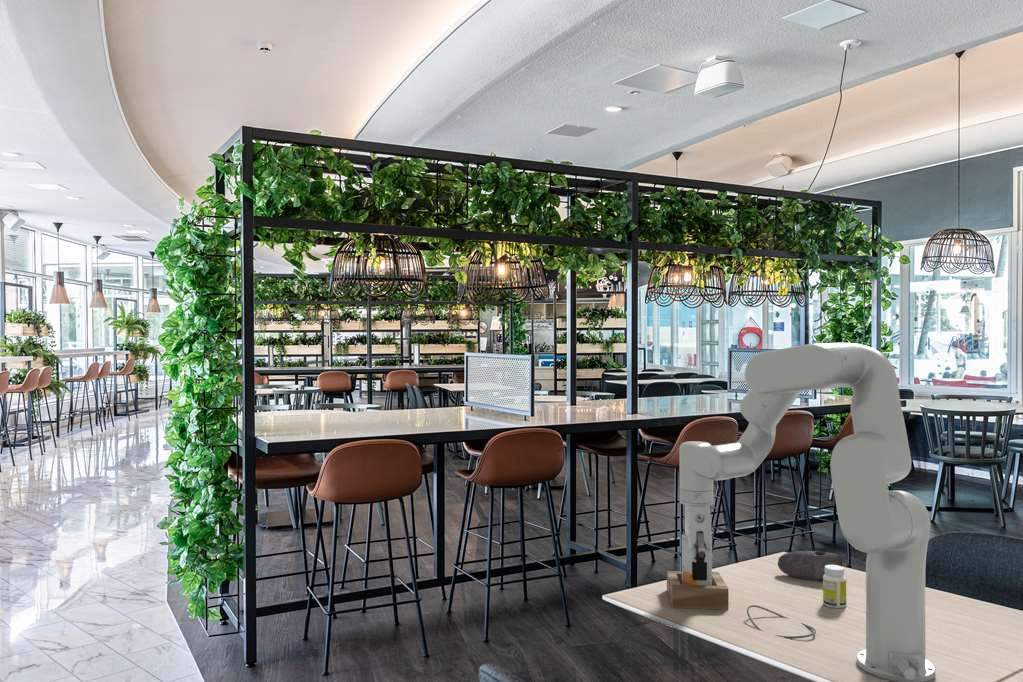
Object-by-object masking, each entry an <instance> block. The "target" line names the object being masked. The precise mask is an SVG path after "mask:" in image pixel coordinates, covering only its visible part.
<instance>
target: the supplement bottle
mask: <svg viewBox="0 0 1023 682" xmlns="http://www.w3.org/2000/svg"><path fill="white" fill-rule="evenodd" d="M825 573H826V574H824V575H823V580H822V603H823V604H824V605H825V606H826V607H829V608H833V609H844V608H846V607H847V578H846V576H845V568H844V567H843V566H838V565H826V566H825Z"/></svg>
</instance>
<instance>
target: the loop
mask: <svg viewBox="0 0 1023 682" xmlns="http://www.w3.org/2000/svg"><path fill="white" fill-rule="evenodd" d="M750 608H758V609H760V610H764V611H766V612H769V613H771V614H774V615H776V616H779V617H781V618H784V619H789V620H791V618H790V617H788V616H785V615H782V614H780V613H777V612H775V611H773V610H770V609H768V608H766V607H763V606H761V605H756V604H751V605H748V606H747V607H746V613H747V614H746V615H747V616H748V619H749V620H750V623H752V625H753V626H754V627H755V628H756V629H757V630H758V631H761V632H765V631H764V630H762V628H760V627H759V626H758V625H757V624H756V623H755V622H754V620H753V619H752V617H751V614H750V612H749V611H750ZM799 622H800V621H799ZM799 624H802V625H803V626H804V625H805V628H809V629H810V630H812V631H813V632H812V633H808V634H806V635H804V634H803V635H797V636H795V635H793V636H789V635H779V634H778V635H776V634H775V636H776V637H780V638H783V637H784V639H789V638H790V639H802V638H803V639H804V638H808V637H812V636H814V635H815V634H816V632H817V630H816V629H815V628H814V627H812V626H810V625H808V624H805V623H803V622H800V623H799Z"/></svg>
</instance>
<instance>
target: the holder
mask: <svg viewBox="0 0 1023 682" xmlns="http://www.w3.org/2000/svg"><path fill="white" fill-rule="evenodd" d="M666 592H667V594H668V595H667V596H668V597H669V600H670V604H671V607H672V606H673V607H672V608H673V609H697V610H699V609H702V610H729V587H728V585H727V584H726V583H725V580H724V579H723V577H722V575H721V574H720V572H717V571H712V586H711V585H682V570H666Z"/></svg>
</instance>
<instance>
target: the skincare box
mask: <svg viewBox="0 0 1023 682" xmlns="http://www.w3.org/2000/svg"><path fill="white" fill-rule="evenodd" d="M696 537H697V535H696ZM695 548H698V542H697V544H696V545H695ZM705 548H706V560H707V580H706V581H700V580H693V579H692V562H693V550H692V549H691V548H690V547H689V546H688V542H687V536H686V534H685V533H684V534H681V571H682V585H711V586H712V572H713V548H712V549H711V550H708V549H707V547H706V544H705ZM697 552H698V551H697ZM697 552H696V554H697Z"/></svg>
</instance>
